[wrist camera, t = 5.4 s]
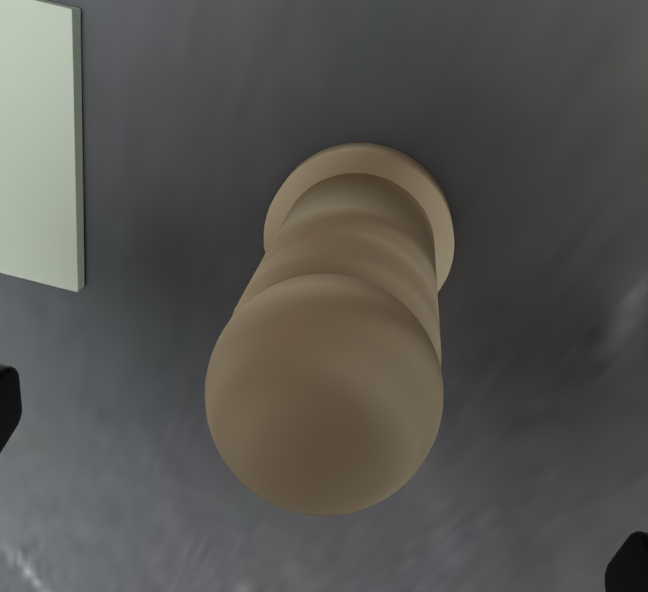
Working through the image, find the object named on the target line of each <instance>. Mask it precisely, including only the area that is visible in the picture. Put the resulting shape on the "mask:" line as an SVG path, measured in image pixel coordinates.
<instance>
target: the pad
mask: <svg viewBox="0 0 648 592" xmlns="http://www.w3.org/2000/svg"><path fill="white" fill-rule="evenodd" d="M0 273H3V274H7V275H11V276H15V277H19V278H23V279H27V280H31V281H35V282H39V283H43V284H47V285H51V286H55V287H59V288H63V289H67V290H71V291H74V292H79V291H80V290H81V289H82V288H83V287H84V217H83V148H82V79H81V10H80V8H76V7H72V6H68V5H64V4H60V3H56V2H51V1H47V0H0Z"/></svg>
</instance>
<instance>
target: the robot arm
mask: <svg viewBox="0 0 648 592" xmlns="http://www.w3.org/2000/svg"><path fill="white" fill-rule="evenodd" d="M21 414H22V403H21V392H20V382H19V374H18V372H17V370H16V369H15V368H13V367H11V366H8V365H4V364H0V453H1V451H2V449H3V448H4V446H5V445H6V443H7V441H8V440H9V438H10V437H11V435H12V433H13V432H14V430H15V429H16V427H17V425H18V423H19V421H20V418H21ZM605 591H606V592H648V533H645V532H641V531H636V532H634V533H632V534H631V535H630V536H629V537H628V538H627V539H626V541H625V542H624V544H623V545H622V546H621V548H620V549H619V550H618V552H617V553H616V554H615V556H614V557H613V558H612V560H611V561H610V562H609V564H608V566H607V569H606V572H605Z"/></svg>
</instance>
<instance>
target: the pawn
mask: <svg viewBox="0 0 648 592" xmlns="http://www.w3.org/2000/svg"><path fill="white" fill-rule="evenodd" d="M263 237H264V250H265V255H264V257H263V259H262V261H261V263H260V264H259V266H258V268H257V270H256V271H255V273H254V275H253V277H252V279H251V280H250V282H249V284H248V286H247V288H246V289H245V291H244V293H243V295H242V297H241V298H240V300H239V302H238V304H237V306H236V307H235V309H234V312H233V314H232V317H231V320H230V321H229V322H228V324H227V325H226V326H225V328H224V330H223V331H222V333H221V335H220V336H219V338H218V340H217V342H216V345H215V347H214V350H213V352H212V355H211V357H210V360H209V365H208V370H207V375H206V380H205V408H206V416H207V420H208V425H209V428H210V432H211V436H212V438H213V440H214V442H215V445H216V447H217V449H218V451H219V453H220V455H221V457H222V458H223V460H224V462H225V463H226V465H227V466H228V467H229V468H230V470H231V471H232V472H233V473H234V475H235V476H236V477H237V478H238V479H239V480H240V481H241V482H242V483H243V484H244V485H245V486H246V487H247V488H248V489H250V490H251V491H252V492H253V493H255V494H256V495H258V496H260V497H261V498H263V499H264V500H266V501H268V502H270V503H272V504H274V505H275V506H278V507H280V508H283V509H285V510H289V511H292V512H295V513H300V514H305V515H313V516H332V515H343V514H349V513H353V512H357V511H360V510H363V509H365V508H368V507H370V506H372V505H375V504H377V503H379V502H381V501H383V500H384V499H386V498H388V497H389V496H391V495H392V494H393V493H395V492H396V491H397V490H399V489H400V488H401V487H402V486H404V485H405V484H406V483H407V482H408V481H409V480H410V479H411V478H412V477H413V475H414V474H415V473H416V471H417V470H418V469H419V468H420V466H421V465H422V464H423V462H424V461H425V459H426V457H427V455H428V453H429V452H430V450H431V448H432V446H433V444H434V441H435V439H436V436H437V433H438V430H439V426H440V422H441V418H442V411H443V400H444V390H443V378H442V373H441V339H440V324H439V308H438V292H439V290H440V289H441V287H442V286H443V284H444V282H445V280H446V278H447V276H448V274H449V271H450V268H451V265H452V261H453V255H454V232H453V225H452V218H451V212H450V208H449V205H448V202H447V199H446V197H445V195H444V193H443V191H442V189H441V187H440V186H439V184H438V183H437V181H436V180H435V178H434V177H433V176H432V175H431V174H430V173H429V171H428V170H427V169H426V168H425V167H423V166H422V165H421V164H420V163H419V162H417V161H416V160H415V159H413V158H411V157H410V156H408V155H407V154H405V153H403V152H400V151H398V150H396V149H394V148H390V147H387V146H384V145H379V144H374V143H361V142H355V143H345V144H340V145H336V146H332V147H329V148H326V149H324V150H321V151H319V152H317V153H315V154H314V155H312V156H310V157H309V158H307V159H306V160H305V161H303V162H302V163H300V164H299V165H298V166H297V167H296V168H295V169H294V170H293V171H292V172H291V174H290V175H289V176H288V178H287V179H286V180H285V182H284V183H283V185H282V186H281V188H280V189H279V191H278V192H277V194H276V196H275V197H274V199H273V201H272V203H271V205H270V208H269V210H268V213H267V216H266V221H265V225H264V236H263Z"/></svg>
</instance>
